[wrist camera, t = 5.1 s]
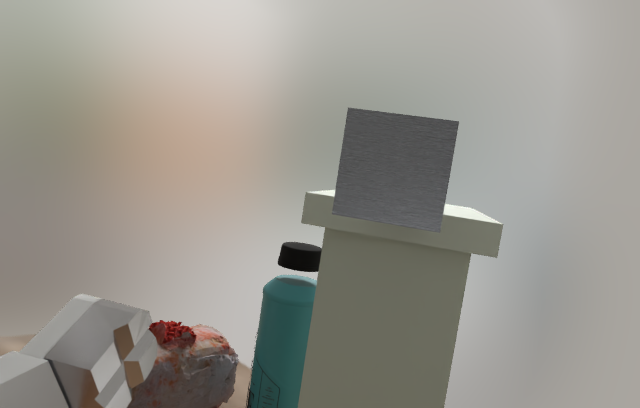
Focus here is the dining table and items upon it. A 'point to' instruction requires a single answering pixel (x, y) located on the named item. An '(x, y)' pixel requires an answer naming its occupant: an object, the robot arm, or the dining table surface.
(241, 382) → the dining table surface
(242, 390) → the dining table surface
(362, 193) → the graphite bar
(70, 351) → the robot arm
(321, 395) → the sage stand
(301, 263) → the beverage bottle
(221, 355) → the food item
